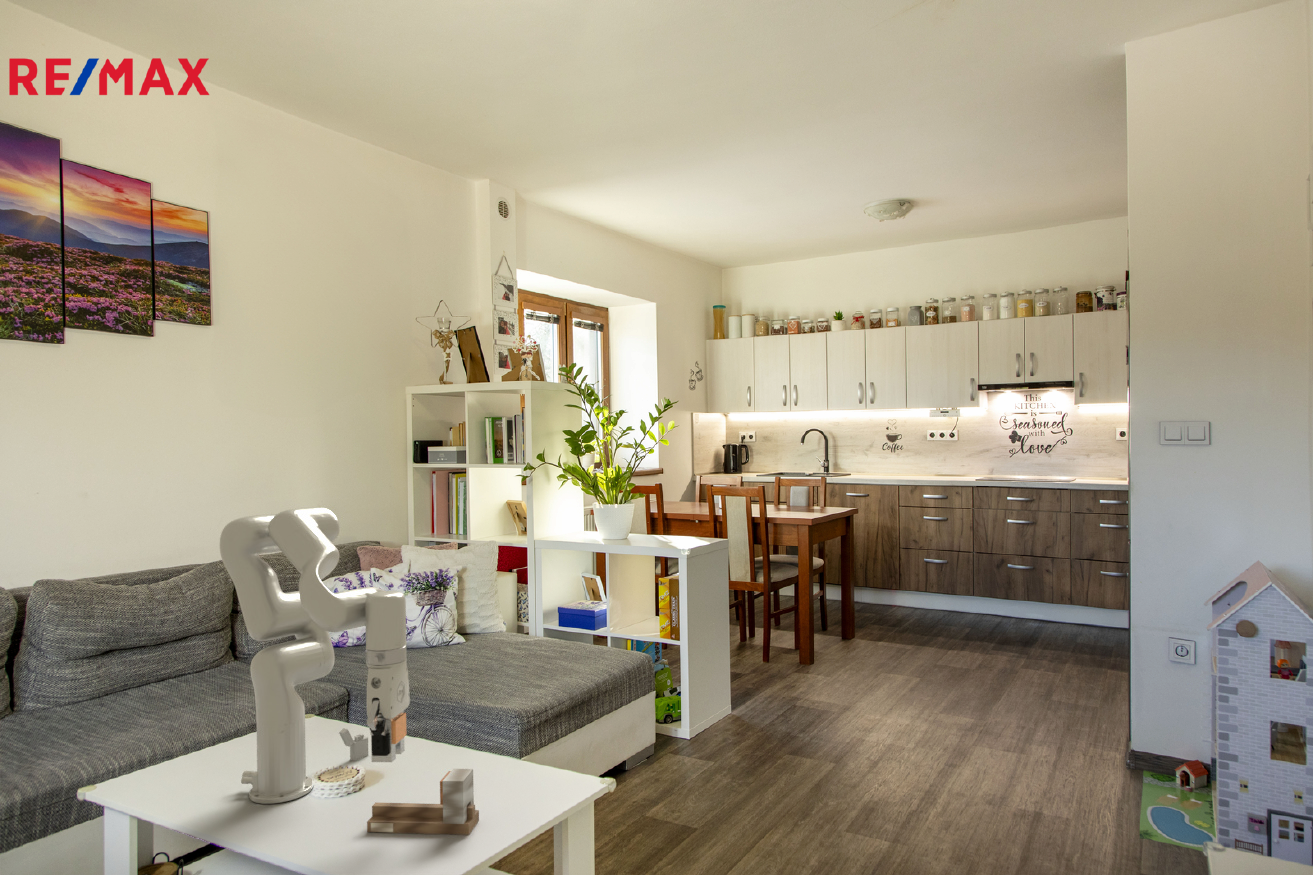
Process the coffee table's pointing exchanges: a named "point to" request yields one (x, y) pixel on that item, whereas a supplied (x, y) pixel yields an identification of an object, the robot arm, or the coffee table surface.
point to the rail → (432, 810)
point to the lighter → (355, 744)
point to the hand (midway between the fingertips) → (388, 748)
